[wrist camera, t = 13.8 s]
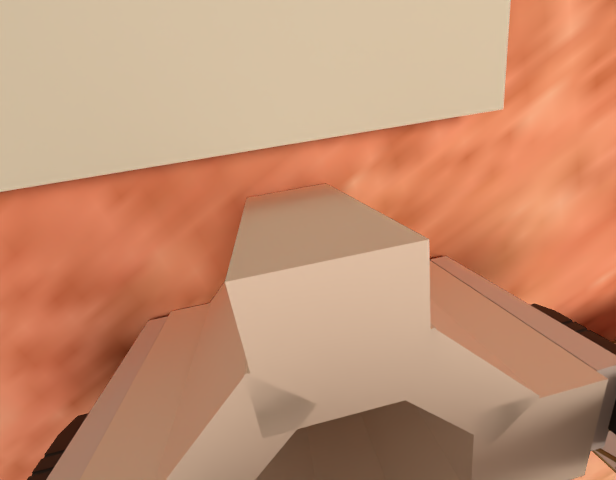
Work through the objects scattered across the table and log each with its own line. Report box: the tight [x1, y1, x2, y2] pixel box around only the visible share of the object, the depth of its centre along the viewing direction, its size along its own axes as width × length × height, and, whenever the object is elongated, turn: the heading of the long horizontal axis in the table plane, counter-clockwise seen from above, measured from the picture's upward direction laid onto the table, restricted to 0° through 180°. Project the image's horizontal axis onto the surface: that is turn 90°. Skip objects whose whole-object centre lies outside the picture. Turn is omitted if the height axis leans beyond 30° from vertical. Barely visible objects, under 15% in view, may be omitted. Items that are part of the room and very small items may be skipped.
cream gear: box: [80, 183, 608, 480], centre depth 9 cm, size 11×11×7 cm
